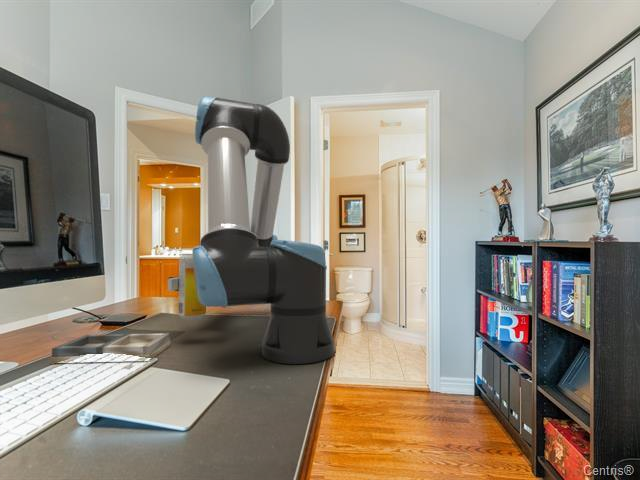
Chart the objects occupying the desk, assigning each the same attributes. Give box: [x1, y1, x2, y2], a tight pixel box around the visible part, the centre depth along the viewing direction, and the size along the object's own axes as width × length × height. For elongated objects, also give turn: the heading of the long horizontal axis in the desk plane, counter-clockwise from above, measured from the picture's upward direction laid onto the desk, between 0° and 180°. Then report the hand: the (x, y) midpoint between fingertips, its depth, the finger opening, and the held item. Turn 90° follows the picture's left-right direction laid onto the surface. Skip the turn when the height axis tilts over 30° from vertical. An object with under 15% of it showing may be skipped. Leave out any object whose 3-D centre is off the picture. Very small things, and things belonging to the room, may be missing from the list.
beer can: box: [177, 253, 207, 320], centre depth 77 cm, size 6×6×15 cm
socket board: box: [49, 332, 171, 365], centre depth 67 cm, size 18×11×3 cm, turn 94°
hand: (185, 284), depth 72 cm, fingers closed on beer can, 6 cm apart
